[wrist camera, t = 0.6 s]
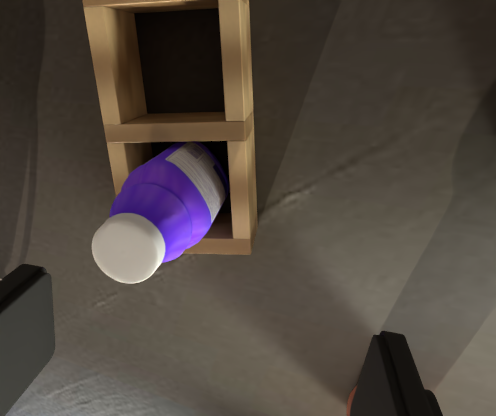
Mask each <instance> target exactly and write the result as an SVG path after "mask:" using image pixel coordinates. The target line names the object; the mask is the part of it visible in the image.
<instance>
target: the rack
mask: <svg viewBox="0 0 496 416" xmlns="http://www.w3.org/2000/svg"><path fill="white" fill-rule="evenodd" d="M83 6H84V13H85V19H86V25H87V31H88V36H89V42H90V48H91V54H92V60H93V66H94V72H95V77H96V83H97V89H98V95H99V101H100V107H101V113H102V118H103V124H104V130H105V135H106V141H107V147H108V152H109V158H110V164H111V170H112V176H113V182H114V188H115V193H116V197H117V195H118V194H119V193H120V192H121V188H122V186H123V184H124V182H125V181H126V179H127V178H128V176H129V174H130V173H131V172H132V171H133V170H135V169H136V168H138V167H139V166H141V165H144V164H145V163H147V162H148V161H150V160H151V159H153V155H152V147H151V142H183V141H227V149H228V164H229V180H230V196H231V212H232V213H218V214H217V215H216V217H215V219H214V221H213V223H212V225H211V226H210V228H209V230H208V232H207V233H206V234H205V235H204V236H203V238H202V239H201V240H200V241H199V242H198V243H196V244H195V245H193V246H191V247H190V248H188V249H185V250H184V251H183V253H197V254H251V252H252V248H253V244H254V240H255V236H256V232H257V227H258V222H257V196H256V170H255V144H254V128H253V127H254V118H253V92H252V65H251V39H250V13H249V0H83ZM212 8H219V21H220V37H221V53H222V69H223V85H224V101H225V112H192V113H157V114H147V108H146V100H145V93H144V85H143V77H142V70H141V62H140V54H139V47H138V39H137V31H136V24H135V16H134V13H148V12H164V11H180V10H196V9H212Z"/></svg>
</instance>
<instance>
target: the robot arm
mask: <svg viewBox="0 0 496 416" xmlns="http://www.w3.org/2000/svg"><path fill="white" fill-rule="evenodd" d="M54 350H55V334H54V316H53V299H52V282H51V275H50V274H49V273H47V271H46V269H45V268H44V267H40V266H34V265H29V264H22V265H20V266H19V267H17V268H16V269H15V270H14V271H12V272H11V273H10V274H8V275H7V276H6V277H4V278H3V279H2V280H0V416H5V415H6V413H7V412H8V411H9V410H10V409H11V407H12V406H13V405H14V404H15V402H16V401H17V400H18V399H19V397H20V396H21V395H22V394H23V393H24V391H25V390H26V389H27V388H28V386H29V385H30V384H31V383H32V381H33V380H34V379H35V378H36V377H37V375H38V374H39V373H40V372H41V370H42V369H43V368H44V367H45V365H46V364H47V363H48V362H49V361H50V359H51V358H52V356H53V354H54ZM350 416H443V415H442V412H441V410H440V407H439V405H438V402H437V399H436V397H435V395H434V394H433V393H432V392H431V391H430V390H425V389H424V387H423V384H422V381H421V379H420V376H419V373H418V371H417V368H416V365H415V363H414V360H413V357H412V354H411V352H410V349H409V346H408V344H407V341H406V338H405V336H404V335H403V334H398V333H392V332H387V331H381V333H380V335H373V337H372V340H371V343H370V346H369V349H368V353H367V356H366V359H365V362H364V365H363V368H362V372H361V375H360V378H359V381H358V384H357V388H356V391H355V394H354V397H353V400H352V404H351V408H350Z"/></svg>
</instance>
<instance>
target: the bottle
mask: <svg viewBox="0 0 496 416" xmlns="http://www.w3.org/2000/svg"><path fill="white" fill-rule="evenodd" d="M228 192H229V183H228V179H227V176H226V174H225V171H224V169H223V168H222V166H221V164H220V162H219V161H218V159H217V158H216V157H215V156H214V154H213V153H212V152H211V151H210V150H209V149H208V148H207V147H206V146H204V145H203V144H201V143H200V142H198V141H183V142H177V143H175V144H173V145H171V146H170V147H169V148H167V149H166V150H165V151H163V152H162V153H160V154H159V155H157V156H156V157H154V158H153V159H151V160H150V161H148V162H147V163H145V164H144V165H141V166H139V167H138V168H136V169H135V170H133V171H132V172H131V173H130V174H129V176H128V178H127V179H126V181H125V182H124V184H123V186H122V188H121V192H120V193H119V194H118V195H117V197H116V198H115V200H114V202H113V204H112V207H111V210H110V218H109V219H107V220H106V221H105V223H104V224H103V225H102V226H101V227H100V228H99V229H98V230H97V231H96V233H95V235H94V237H93V240H92V253H93V256H94V259H95V261H96V263H97V265H98V266H99V267H100V269H101V270H102V271H103V272H104V273H105V274H107V275H108V276H109V277H111V278H113V279H115V280H117V281H119V282H123V283H138V282H141V281H144V280H146V279H148V278H149V277H150V276H151V275H152V274H153V273H154V272H155V270H156V269H157V268H158V267H159V266H160V264H161V263H162V262H167V261H171V260H173V259H175V258H177V257H179V256H180V255H181V254H182V253H183V251H184V250H185V249H188V248H190V247H191V246H193V245H195V244H196V243H198V242H199V241H200V240H201V239H202V238H203V236H204V235H205V234H206V233H207V232H208V230H209V228H210V226H211V225H212V223H213V221H214V219H215V217H216V215H217V214H218V212H219V210H220V208H221V206H222V205H223V203H224V201H225V199H226V198H227V195H228Z"/></svg>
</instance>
